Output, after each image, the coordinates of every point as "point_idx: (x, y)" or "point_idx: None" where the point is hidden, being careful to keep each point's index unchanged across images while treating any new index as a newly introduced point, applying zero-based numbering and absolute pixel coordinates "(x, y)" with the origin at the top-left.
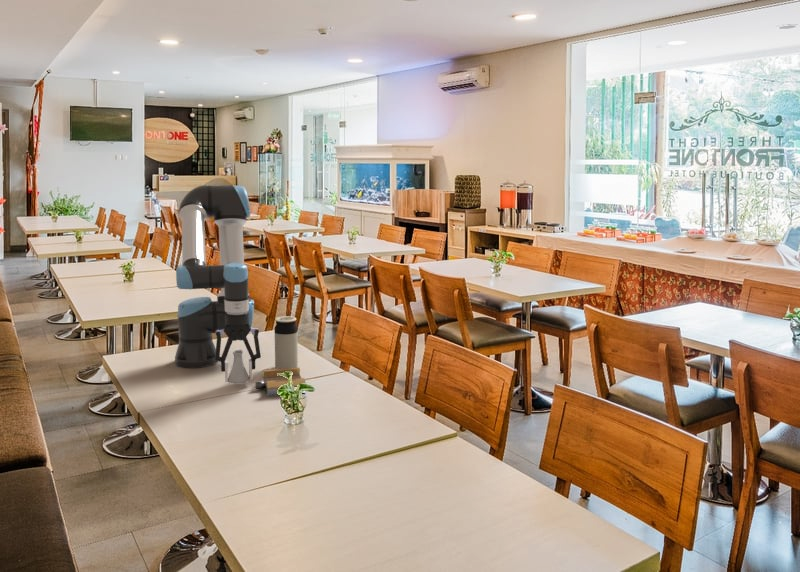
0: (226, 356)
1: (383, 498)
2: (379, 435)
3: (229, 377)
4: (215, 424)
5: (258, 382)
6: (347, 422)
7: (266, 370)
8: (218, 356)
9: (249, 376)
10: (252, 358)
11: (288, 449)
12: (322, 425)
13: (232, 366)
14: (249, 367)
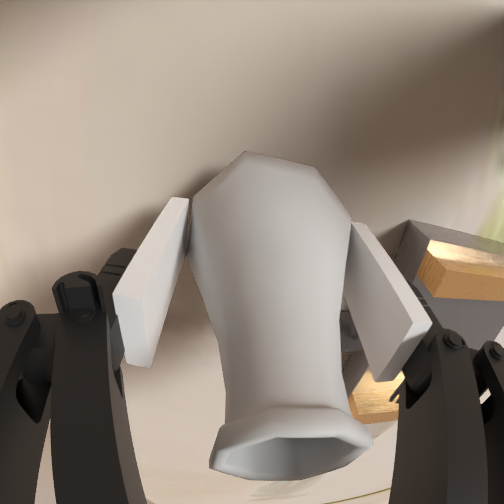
0: (126, 425)
1: None
2: (386, 481)
3: (193, 271)
4: (152, 452)
5: (349, 349)
6: (386, 467)
7: (456, 282)
8: (43, 406)
9: (347, 254)
10: (409, 397)
11: (262, 498)
12: (347, 474)
13: (212, 316)
14: (363, 324)
